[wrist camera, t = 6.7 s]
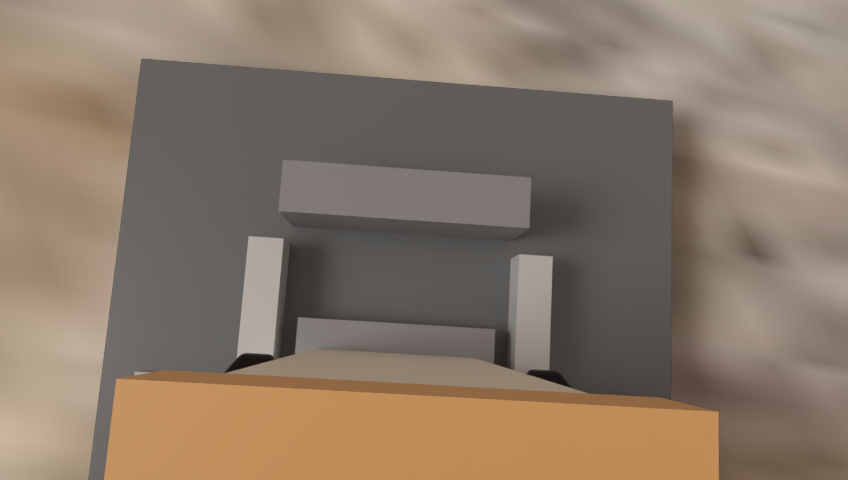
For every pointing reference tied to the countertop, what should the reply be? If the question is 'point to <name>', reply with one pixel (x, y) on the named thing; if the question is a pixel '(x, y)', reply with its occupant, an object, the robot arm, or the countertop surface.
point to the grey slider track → (390, 223)
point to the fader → (396, 417)
